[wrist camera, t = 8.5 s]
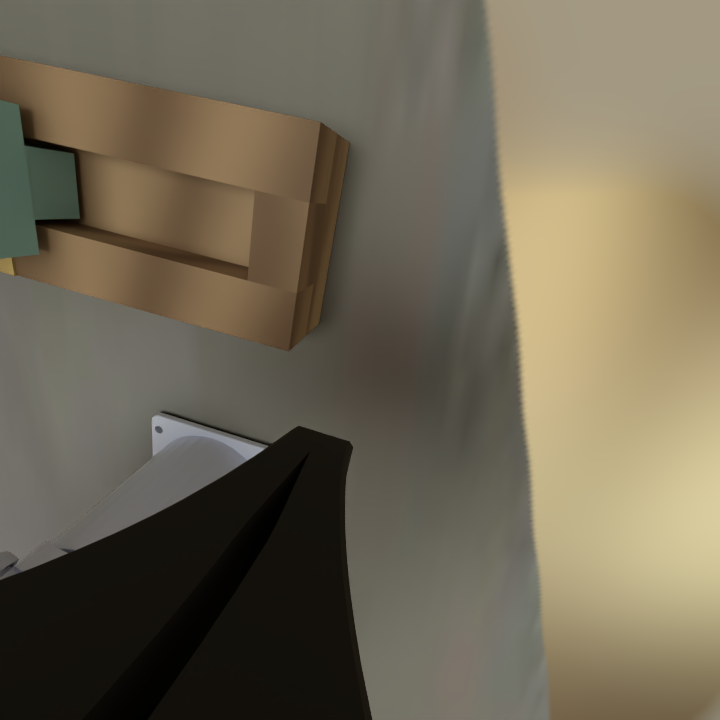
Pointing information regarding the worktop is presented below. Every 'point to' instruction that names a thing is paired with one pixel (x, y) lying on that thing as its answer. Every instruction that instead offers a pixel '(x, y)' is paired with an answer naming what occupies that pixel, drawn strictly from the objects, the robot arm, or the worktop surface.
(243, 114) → the slotted wooden block
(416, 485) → the worktop surface
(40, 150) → the block
